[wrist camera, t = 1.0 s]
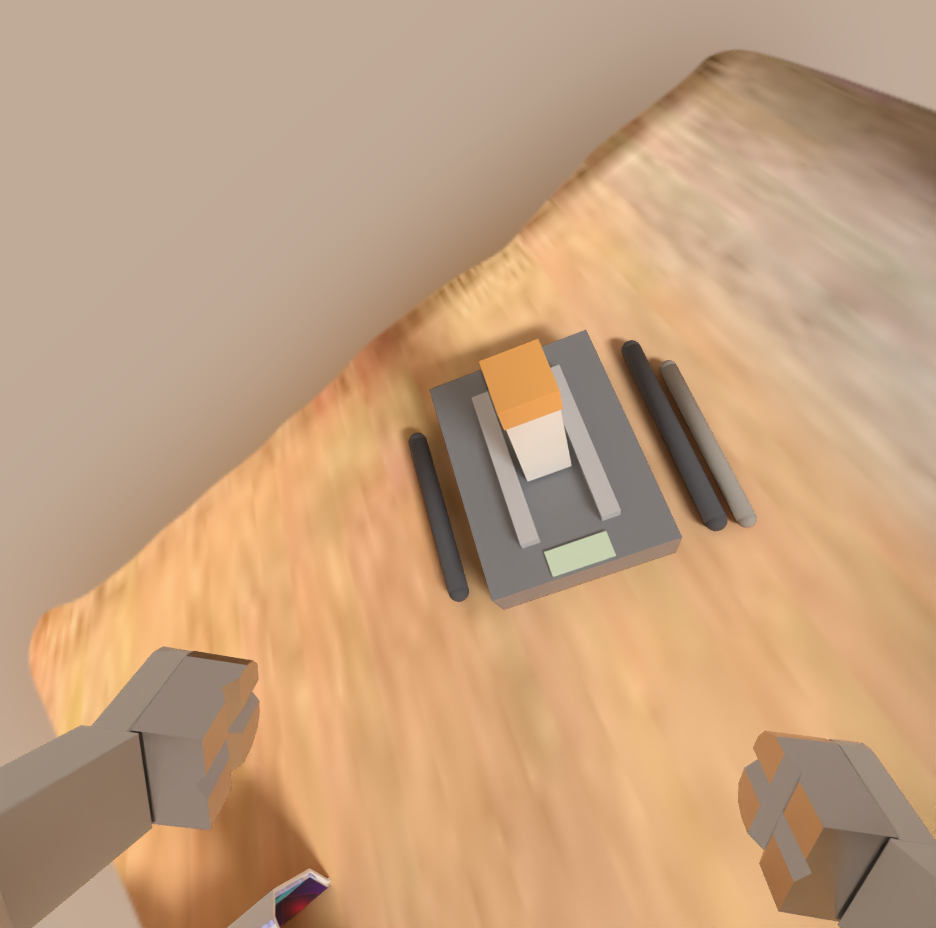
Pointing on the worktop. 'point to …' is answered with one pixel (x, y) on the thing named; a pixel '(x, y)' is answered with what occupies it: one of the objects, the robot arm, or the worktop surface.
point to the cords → (672, 437)
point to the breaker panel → (555, 485)
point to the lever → (529, 407)
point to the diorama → (283, 901)
